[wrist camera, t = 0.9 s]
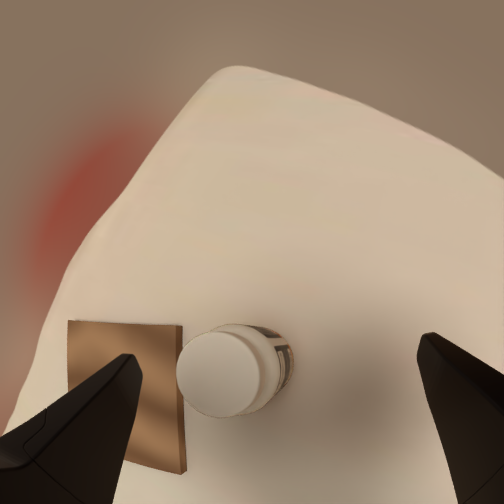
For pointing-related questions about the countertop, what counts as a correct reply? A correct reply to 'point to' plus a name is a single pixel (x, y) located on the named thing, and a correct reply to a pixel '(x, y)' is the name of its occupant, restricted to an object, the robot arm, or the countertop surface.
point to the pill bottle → (233, 369)
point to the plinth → (152, 390)
